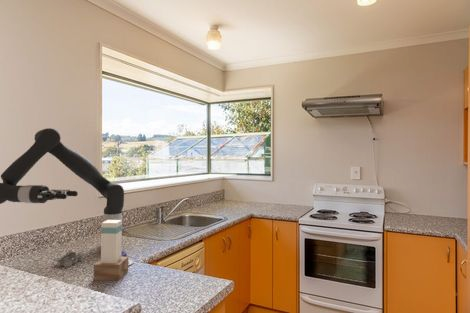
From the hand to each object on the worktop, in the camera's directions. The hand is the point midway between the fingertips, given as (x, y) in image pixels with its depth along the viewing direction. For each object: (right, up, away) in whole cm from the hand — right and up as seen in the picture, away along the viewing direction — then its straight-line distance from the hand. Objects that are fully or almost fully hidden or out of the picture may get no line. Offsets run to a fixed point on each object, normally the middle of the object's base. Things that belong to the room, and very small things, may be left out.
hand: (71, 194), depth 131 cm
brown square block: (+19, -32, -4) cm, 37 cm away
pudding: (+17, -33, +9) cm, 38 cm away
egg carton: (-6, -32, +10) cm, 34 cm away
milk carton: (+18, -26, -4) cm, 32 cm away
